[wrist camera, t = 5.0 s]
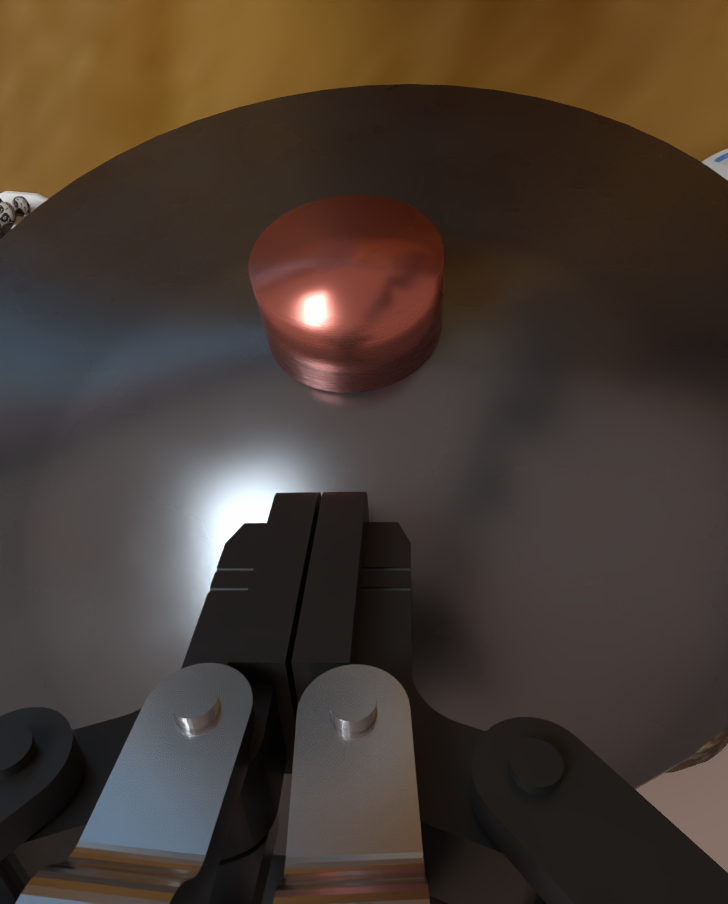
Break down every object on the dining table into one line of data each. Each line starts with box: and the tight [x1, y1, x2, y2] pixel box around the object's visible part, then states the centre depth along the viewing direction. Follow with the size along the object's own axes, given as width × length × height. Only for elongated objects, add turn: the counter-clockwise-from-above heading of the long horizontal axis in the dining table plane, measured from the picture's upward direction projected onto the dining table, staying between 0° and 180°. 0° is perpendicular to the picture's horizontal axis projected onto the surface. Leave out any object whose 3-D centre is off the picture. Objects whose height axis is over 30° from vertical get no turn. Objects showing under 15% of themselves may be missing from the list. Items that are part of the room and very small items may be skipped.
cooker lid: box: [0, 84, 728, 904], centre depth 14 cm, size 21×24×3 cm
